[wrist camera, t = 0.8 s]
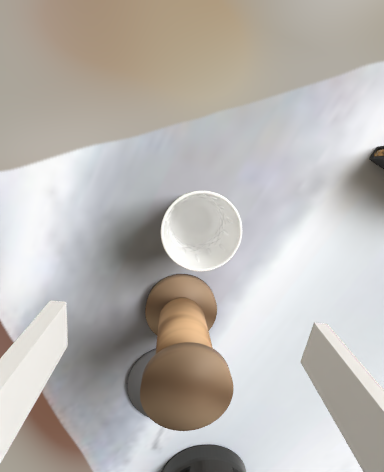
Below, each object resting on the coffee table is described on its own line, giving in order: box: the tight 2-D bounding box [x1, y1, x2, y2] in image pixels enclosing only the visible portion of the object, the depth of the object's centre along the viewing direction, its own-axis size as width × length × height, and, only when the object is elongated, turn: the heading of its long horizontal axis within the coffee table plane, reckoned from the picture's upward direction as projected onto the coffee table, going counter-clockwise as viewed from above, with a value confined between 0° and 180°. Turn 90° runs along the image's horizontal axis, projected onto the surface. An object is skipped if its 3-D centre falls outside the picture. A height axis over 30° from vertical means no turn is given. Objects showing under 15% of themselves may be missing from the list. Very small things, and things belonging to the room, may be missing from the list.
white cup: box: [161, 191, 242, 271], centre depth 29 cm, size 8×8×10 cm
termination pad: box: [127, 349, 156, 417], centre depth 38 cm, size 13×13×1 cm
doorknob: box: [140, 274, 233, 431], centre depth 29 cm, size 10×10×15 cm
